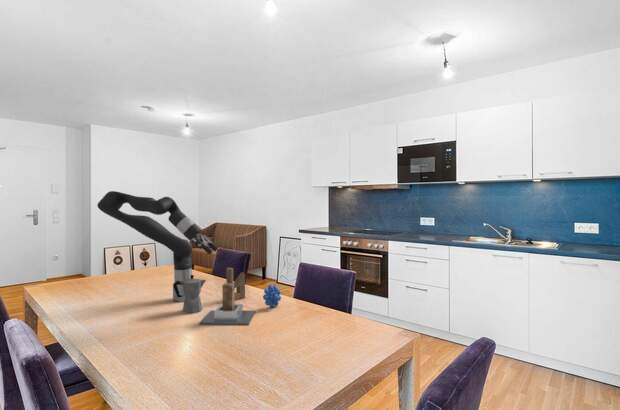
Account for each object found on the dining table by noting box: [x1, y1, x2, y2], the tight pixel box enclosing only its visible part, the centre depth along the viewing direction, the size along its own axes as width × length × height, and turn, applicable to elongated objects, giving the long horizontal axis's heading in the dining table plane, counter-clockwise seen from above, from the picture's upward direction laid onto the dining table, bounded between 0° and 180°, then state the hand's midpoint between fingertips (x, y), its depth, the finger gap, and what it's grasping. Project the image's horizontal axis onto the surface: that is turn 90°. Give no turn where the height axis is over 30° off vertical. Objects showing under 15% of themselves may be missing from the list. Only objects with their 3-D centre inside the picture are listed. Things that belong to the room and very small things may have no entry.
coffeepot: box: [172, 274, 207, 315], centre depth 169 cm, size 15×9×18 cm, turn 110°
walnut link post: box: [221, 282, 236, 310], centre depth 159 cm, size 4×4×15 cm
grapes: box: [262, 284, 282, 309], centre depth 173 cm, size 12×7×12 cm, turn 138°
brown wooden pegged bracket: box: [225, 267, 246, 301], centre depth 188 cm, size 4×11×18 cm, turn 137°
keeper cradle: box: [199, 303, 256, 326], centre depth 159 cm, size 22×16×5 cm
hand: (214, 251), depth 162 cm, fingers open, 8 cm apart
